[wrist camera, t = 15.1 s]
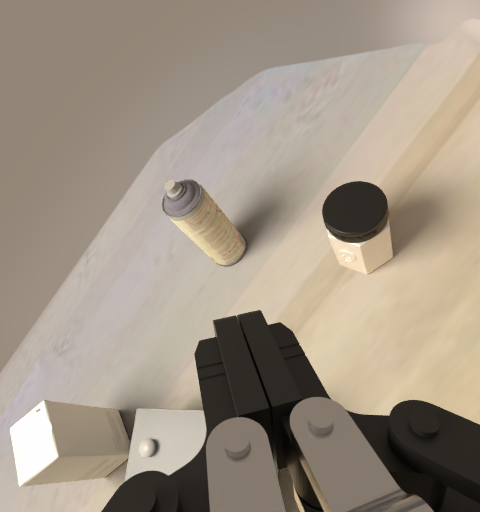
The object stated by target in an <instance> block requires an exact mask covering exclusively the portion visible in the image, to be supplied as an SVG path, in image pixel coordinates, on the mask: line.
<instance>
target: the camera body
mask: <svg viewBox="0 0 480 512" xmlns="http://www.w3.org/2000/svg"><path fill="white" fill-rule="evenodd" d="M205 438H206V422H205V416H204V410H175V409H140V408H137V410H136V416H135V422H134V428H133V432H132V435H131V438H130V442H129V458H128V463H127V469H126V475H125V481H127V480H128V479H129V478H131V477H132V476H134V475H136V474H138V473H141V472H145V471H153V470H154V471H160V472H163V473H165V474H167V475H168V476H169V475H170V474H172V473H173V472H175V471H177V470H178V469H180V468H181V467H183V466H184V465H186V464H187V463H188V462H190V461H191V460H192V459H193V458H194V457H195V456H196V455H197V454H198V452H199V451H200V449H201V448H202V446H203V444H204V441H205ZM125 481H124V482H125Z"/></svg>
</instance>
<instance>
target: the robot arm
mask: <svg viewBox="0 0 480 512" xmlns="http://www.w3.org/2000/svg"><path fill="white" fill-rule="evenodd" d="M213 325H214V331H215V337H214V338H209V339H205V340H201V341H199V343H198V346H197V349H196V351H195V360H196V366H197V373H198V379H199V385H200V391H201V397H202V404H203V410H204V416H205V422H206V438H205V441H204V444H203V446H202V448H201V449H200V451H199V452H198V454H197V455H196V456H195V457H194V458H193V459H192V460H191V461H190V462H188V463H187V464H186V465H184V466H183V467H181V468H180V469H178V470H177V471H175V472H173V473H172V474H170V475H169V476H168V475H167V474H165V473H163V472H160V471H154V470H153V471H145V472H141V473H138V474H136V475H134V476H132V477H131V478H129V479H128V480H127V481H125V482H124V483H123V484H122V485H121V486H120V487H119V488H118V490H117V491H116V492H115V493H114V495H113V496H112V498H111V499H110V500H109V502H108V503H107V505H106V506H105V507H104V509H103V510H102V512H286V511H285V506H284V502H283V498H282V494H281V490H280V486H279V481H278V477H277V473H276V469H275V463H276V466H277V469H281V468H285V467H288V470H289V473H290V475H291V478H292V481H293V490H294V497H295V500H296V503H297V505H298V508H299V510H300V512H480V425H479V424H477V423H475V422H472V421H470V420H468V419H465V418H463V417H461V416H458V415H456V414H454V413H452V412H449V411H447V410H445V409H442V408H440V407H438V406H435V405H433V404H430V403H428V402H424V401H419V400H408V401H403V402H400V403H399V404H397V405H396V406H395V407H394V408H393V409H392V411H391V413H390V416H383V415H362V414H356V413H352V412H350V411H347V410H345V409H344V408H343V407H342V406H341V405H340V404H339V403H337V402H335V401H333V400H331V398H330V397H329V396H328V394H327V392H326V391H325V389H324V387H323V385H322V383H321V382H320V380H319V378H318V376H317V374H316V373H315V371H314V369H313V367H312V366H311V364H310V362H309V360H308V358H307V357H306V356H305V353H304V351H303V349H302V348H301V346H300V345H299V342H298V340H297V339H296V337H295V335H294V333H293V331H291V330H290V329H289V328H287V327H286V326H285V325H283V324H282V323H280V322H279V323H275V324H270V325H267V322H266V320H265V318H264V316H263V314H262V312H261V311H260V310H258V311H253V312H248V313H244V314H239V315H237V317H236V315H235V316H231V317H226V318H222V319H217V320H213ZM274 460H275V463H274Z"/></svg>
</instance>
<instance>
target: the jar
mask: <svg viewBox="0 0 480 512" xmlns="http://www.w3.org/2000/svg"><path fill="white" fill-rule="evenodd" d="M322 214H323V219H324V223H325V225H326V228H327V229H328V237H329V240H330V242H331V245H332V247H333V249H334V252H335V254H336V257H337V259H338V262H339V264H340V265H342V266H345V267H348V268H351V269H353V270H356V271H359V272H362V273H364V274H369V273H370V272H372V271H373V270H375V269H377V268H378V267H380V266H381V265H383V264H384V263H386V262H387V261H389V260H390V259H392V258H393V250H392V241H391V233H390V225H389V219H388V215H389V213H388V204H387V199H386V196H385V194H384V193H383V191H382V190H381V189H380V188H379V187H377V186H376V185H374V184H371V183H368V182H362V181H356V182H350V183H346V184H343V185H341V186H339V187H338V188H336V189H335V190H333V191H332V192H331V193H330V194H329V195H328V197H327V198H326V200H325V202H324V204H323V209H322Z"/></svg>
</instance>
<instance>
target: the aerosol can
mask: <svg viewBox="0 0 480 512" xmlns="http://www.w3.org/2000/svg"><path fill="white" fill-rule="evenodd" d="M164 188H165V190H166V191H167V192H166V194H165V196H164V198H163V202H162V207H163V211H164V212H165V214H166V215H167V216H168V218H169V219H170V220H171V221H172V222H173V223H174V224H176V225H177V226H178V227H179V228H180V229H181V230H182V231H183V232H184V233H185V234H186V235H187V236H188V237H189V238H190V239H192V240H193V241H194V242H195V243H196V244H197V245H198V246H199V247H200V248H201V249H202V250H203V251H204V252H205V253H206V254H207V255H209V256H210V257H211V258H212V259H213V260H214V261H215V262H216V263H217V264H219V265H221V266H225V267H227V266H232V265H234V264H236V263H237V262H239V261H240V260H241V259H242V257H243V256H244V255H245V252H246V245H247V244H246V241H245V239H244V238H243V236H242V235H241V234H240V233H239V231H238V230H237V229H236V228H235V227H234V225H233V224H232V223H231V222H230V220H229V219H228V218H227V217H226V215H225V214H224V213H223V212H222V210H221V209H220V208H219V207H218V206H217V204H216V203H215V202H214V201H213V199H212V198H211V197H210V196H209V194H208V193H207V192H206V191H205V189H204V188H203V187H202V186H201V185H200V184H198V183H197V182H196V181H194V180H192V179H186V180H182V181H179V182H175V181H173V180H170V181H168V182H167V183H166V184H165V186H164Z"/></svg>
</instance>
